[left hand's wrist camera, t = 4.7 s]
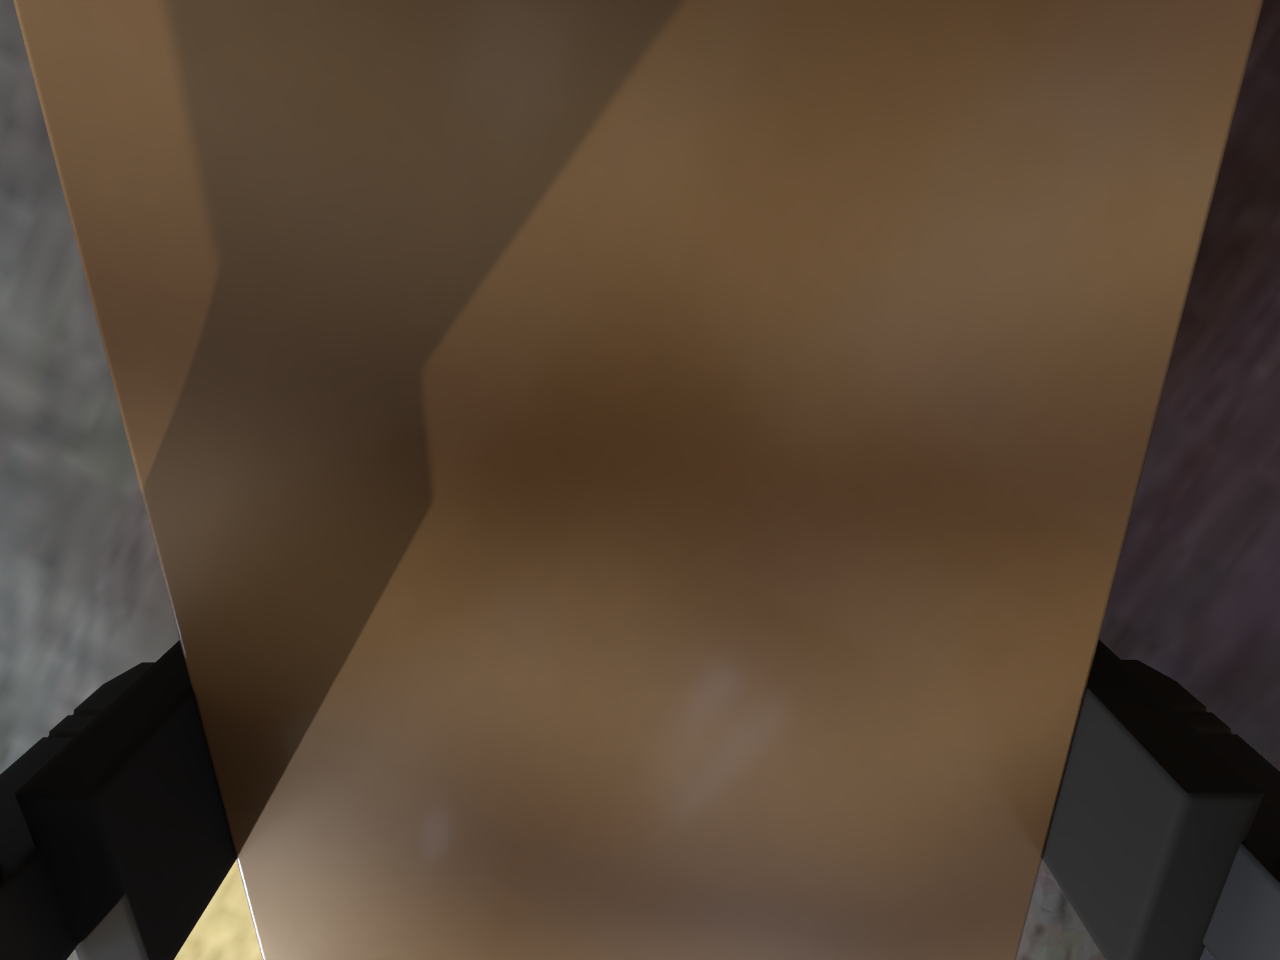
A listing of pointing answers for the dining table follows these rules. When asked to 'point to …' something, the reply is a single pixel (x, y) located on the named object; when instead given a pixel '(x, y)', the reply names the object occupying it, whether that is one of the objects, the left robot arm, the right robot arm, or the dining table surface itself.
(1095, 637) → the cabinet
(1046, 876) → the decorative stone
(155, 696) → the left robot arm
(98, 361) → the dining table surface
